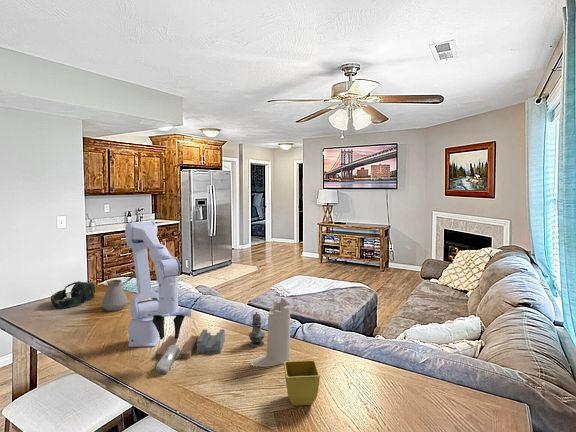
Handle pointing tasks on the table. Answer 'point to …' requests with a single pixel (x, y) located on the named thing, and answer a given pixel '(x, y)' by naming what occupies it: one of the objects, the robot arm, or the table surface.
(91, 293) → the headphones
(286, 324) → the white boot
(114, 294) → the coffee pot
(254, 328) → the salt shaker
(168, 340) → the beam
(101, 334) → the table surface
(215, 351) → the v block
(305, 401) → the flower pot
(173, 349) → the axle
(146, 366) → the table surface
